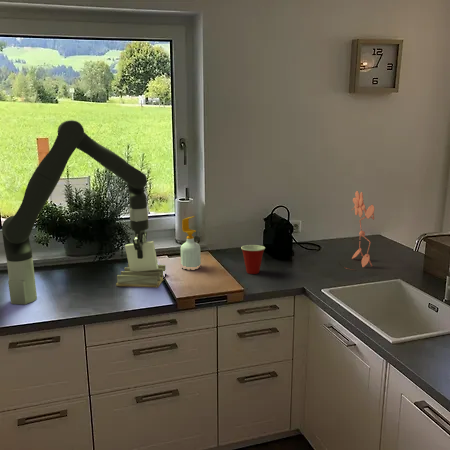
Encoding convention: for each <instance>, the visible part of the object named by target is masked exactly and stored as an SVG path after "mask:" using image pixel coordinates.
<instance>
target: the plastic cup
mask: <svg viewBox="0 0 450 450" xmlns="http://www.w3.org/2000/svg"><path fill="white" fill-rule="evenodd" d="M240 248H241V250H242V256H243V261H244V266H245V270H246V273H247V274H248V275H257V274H259V273H260V270H261V266H262V261H263V254H264V252H265V249H266V247H265V246H264V245H259V244H246V245H242V246H241V247H240Z"/></svg>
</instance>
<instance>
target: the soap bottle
mask: <svg viewBox="0 0 450 450" xmlns="http://www.w3.org/2000/svg"><path fill="white" fill-rule="evenodd" d="M191 218H195V215H193V216H188V217H186V218H183V219H182V220H181V222H182V223H181V228H182V232H183V233H186V235H188V236H186V241H185V242H184V243H183V244H182V245H180V265H181V264H182V265H183V266H186V267H197V266H199V265H200V264H201V263H202V260H201V259H202V257H201V246H200V244H199V243H197V242H196V241H195V238H194V236H193V234H194V233H196V232H197V230H195V229H190V224H189V223H190V221H189V219H191ZM201 265H202V264H201Z"/></svg>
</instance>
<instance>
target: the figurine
mask: <svg viewBox="0 0 450 450" xmlns="http://www.w3.org/2000/svg"><path fill="white" fill-rule="evenodd" d="M354 196H355V197H353V198H352V203H353V204H354V207H353V208H352V209H351V212H352V211H353V210H354V214H355V216H358V217H359V218H360V219H359V226H360V231H359V233H358V235H359V239H362V238H364V239H365V240H366V241H368V242H369V244H368V248H367V252H366V253H365V254H364V255H363V252H362V248H361V242H358V243H359V244H358V245H359V246H358V247H359V248H358V249H357V250H356V251H355V253H353V255H352V257H351V260H353V259H355V258H357V257H358V256H360V257H362V259H361V266H362V268H364V267H366V266H367V265H368V264H370V267H373V264H372V261H371V260H370V257H371V256H370V254H369V251H370V246H371V243H372V242H371V241H370V240H369V239H368V238H367V237H366V236H365V235H366V233H365V231H364V230H362V229H363V228H362V222H361V221H363V220H364V219H366V218H367V220H369V219H370V218H371V219H372V220H375V206H374V204H371V205H369V206H368V208H367V209H366V205H365V203H364V201H365V200H364V194H363V191H360V193H359V191H358V190H356V191H355V194H354ZM363 212H364V213H363ZM363 214H364V215H365V216H364V217H362V216H363ZM361 237H362V238H361ZM360 254H361V255H360ZM345 269H348V270H349V267H345ZM350 270H351V271H353V269H351V268H350ZM355 271H357V270H356V269H355Z"/></svg>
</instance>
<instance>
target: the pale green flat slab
mask: <svg viewBox="0 0 450 450" xmlns="http://www.w3.org/2000/svg"><path fill="white" fill-rule="evenodd" d="M154 242H155V241H154V240H152V241H146V242H144V244H143V245H142V246H143V258H142V259H138V258H137V250H135V248H134V244H133V243H127V244H125V245H124V247H125V252H126V258H127V262H128V263H127V264H129V268H130V271H132V272H139V271H148V270H157V269H158V268H159V267H158V265H159V264H158V263H159V262H158V258H157V253H156V247H155V243H154Z"/></svg>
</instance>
